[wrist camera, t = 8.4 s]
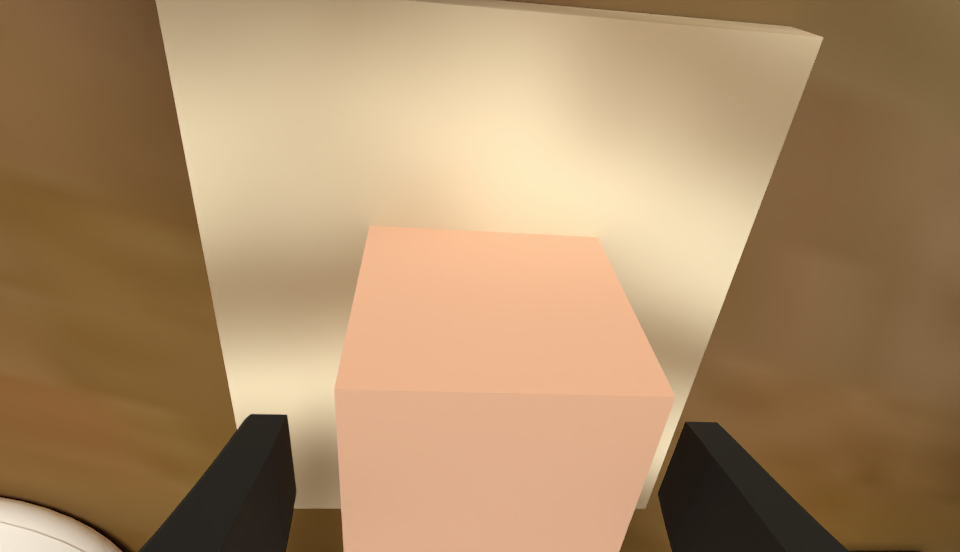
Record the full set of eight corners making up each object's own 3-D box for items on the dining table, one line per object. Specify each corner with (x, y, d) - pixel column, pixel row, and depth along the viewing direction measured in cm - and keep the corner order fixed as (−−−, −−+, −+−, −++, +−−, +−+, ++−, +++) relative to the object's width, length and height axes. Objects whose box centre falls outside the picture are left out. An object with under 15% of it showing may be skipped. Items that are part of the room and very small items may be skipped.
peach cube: (560, 401, 15) (607, 585, 11) (372, 397, 15) (345, 587, 11) (597, 237, 13) (675, 396, 9) (369, 225, 12) (334, 389, 8)
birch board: (634, 477, 19) (645, 509, 18) (262, 475, 18) (252, 508, 17) (790, 26, 12) (823, 37, 11) (178, -29, 11) (150, -22, 10)
